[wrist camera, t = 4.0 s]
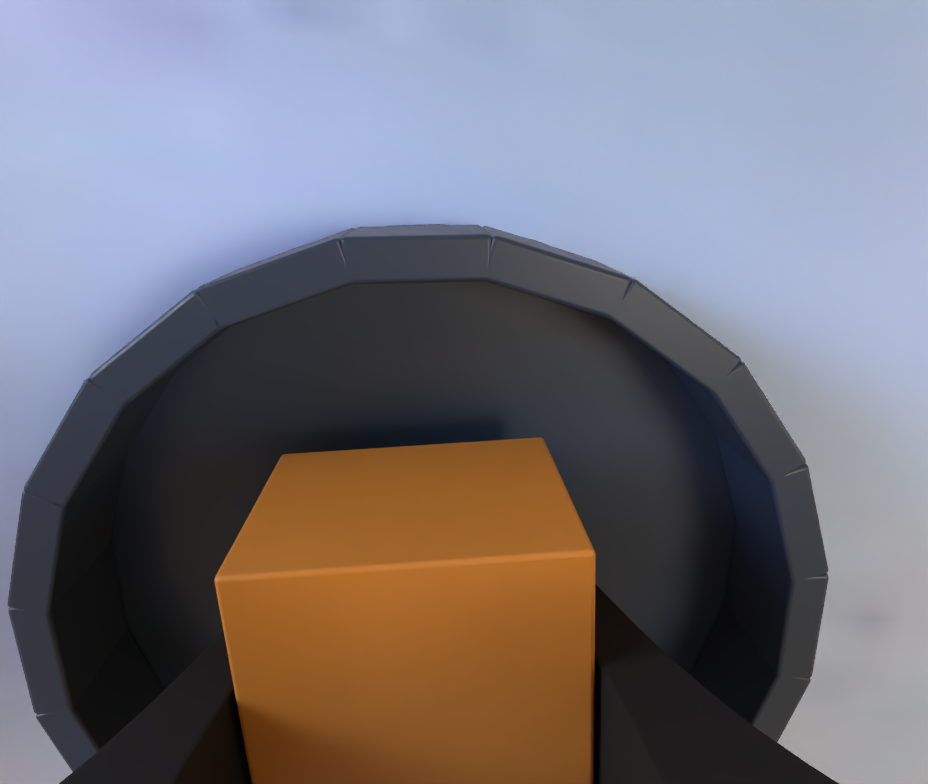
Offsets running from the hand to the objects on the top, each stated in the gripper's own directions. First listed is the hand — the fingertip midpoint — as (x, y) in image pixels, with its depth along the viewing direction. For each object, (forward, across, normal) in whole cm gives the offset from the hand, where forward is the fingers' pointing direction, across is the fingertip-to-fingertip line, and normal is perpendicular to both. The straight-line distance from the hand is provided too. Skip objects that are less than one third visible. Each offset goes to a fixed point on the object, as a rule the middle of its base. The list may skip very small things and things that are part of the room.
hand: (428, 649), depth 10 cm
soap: (+1, 0, 0) cm, 1 cm away
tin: (+2, 0, 0) cm, 3 cm away
